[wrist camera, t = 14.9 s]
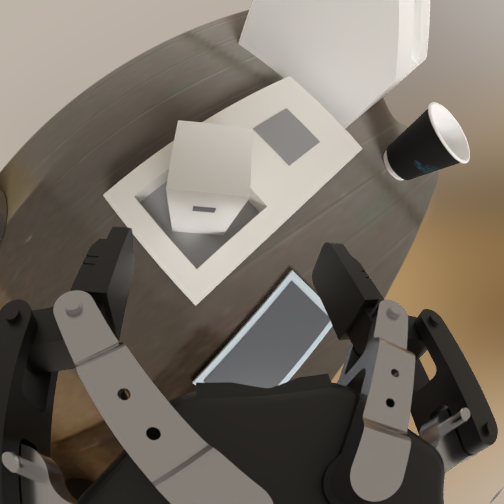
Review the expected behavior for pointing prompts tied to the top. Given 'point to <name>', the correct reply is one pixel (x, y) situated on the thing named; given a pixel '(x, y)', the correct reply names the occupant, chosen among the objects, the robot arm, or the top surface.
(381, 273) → the top surface
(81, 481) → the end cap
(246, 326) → the phone
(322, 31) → the milk carton
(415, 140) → the dixie cup
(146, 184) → the outlet strip
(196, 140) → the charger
